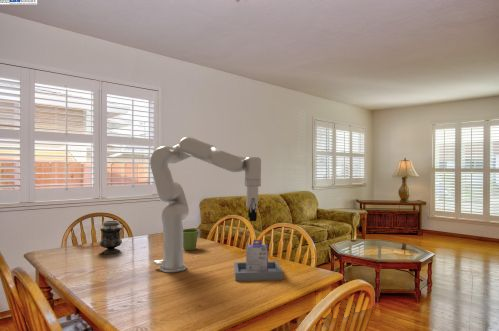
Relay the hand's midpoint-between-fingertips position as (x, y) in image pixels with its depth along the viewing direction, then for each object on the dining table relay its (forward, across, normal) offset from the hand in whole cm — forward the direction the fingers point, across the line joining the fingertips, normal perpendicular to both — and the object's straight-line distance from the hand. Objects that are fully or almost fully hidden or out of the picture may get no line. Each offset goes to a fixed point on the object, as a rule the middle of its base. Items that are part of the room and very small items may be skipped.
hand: (252, 219), depth 157 cm
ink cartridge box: (+24, +3, +2) cm, 24 cm away
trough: (+25, +4, +3) cm, 25 cm away
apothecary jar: (+27, -42, -79) cm, 94 cm away
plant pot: (+26, -46, -34) cm, 63 cm away
